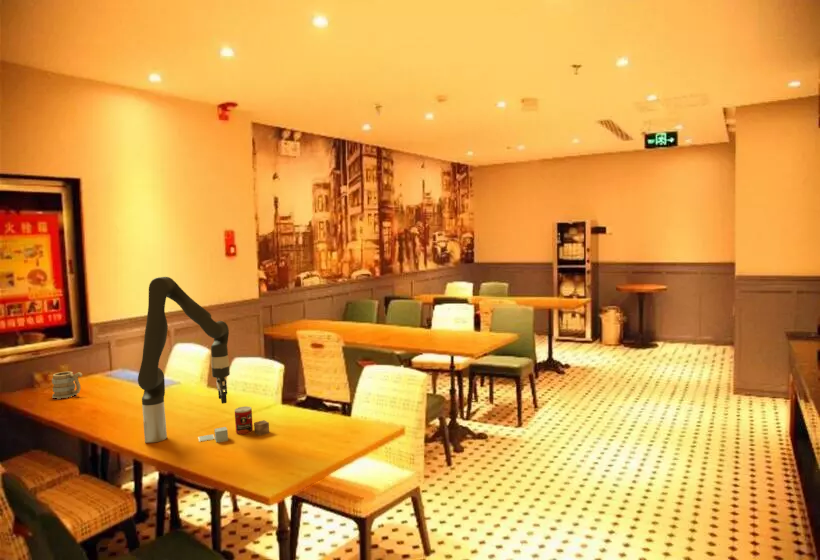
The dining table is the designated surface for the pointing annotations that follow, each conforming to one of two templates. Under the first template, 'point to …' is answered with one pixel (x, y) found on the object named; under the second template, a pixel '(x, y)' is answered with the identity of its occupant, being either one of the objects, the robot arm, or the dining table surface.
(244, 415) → the canned food
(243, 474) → the dining table surface
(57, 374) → the tankard
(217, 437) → the light grey cube
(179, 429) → the dining table surface
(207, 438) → the swatch
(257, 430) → the walnut block
